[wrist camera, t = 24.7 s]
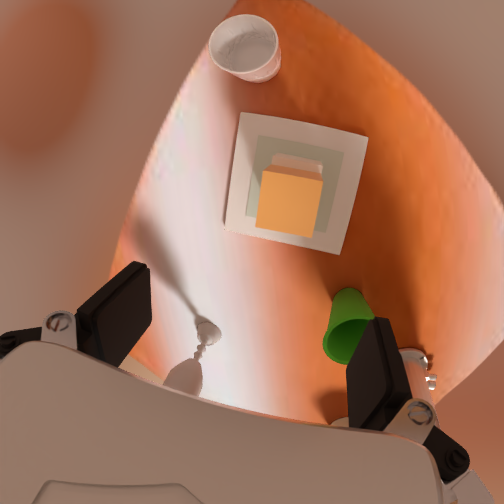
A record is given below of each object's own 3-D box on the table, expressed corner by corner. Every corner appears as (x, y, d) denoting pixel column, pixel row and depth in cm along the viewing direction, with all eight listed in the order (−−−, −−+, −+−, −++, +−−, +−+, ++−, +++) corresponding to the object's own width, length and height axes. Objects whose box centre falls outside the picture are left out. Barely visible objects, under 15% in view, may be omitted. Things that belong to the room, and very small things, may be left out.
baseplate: (367, 137, 36) (368, 137, 35) (339, 252, 43) (339, 255, 42) (242, 112, 38) (240, 111, 37) (225, 228, 45) (223, 230, 44)
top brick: (320, 173, 32) (323, 181, 27) (311, 221, 35) (311, 238, 29) (270, 164, 33) (263, 170, 28) (263, 211, 36) (255, 227, 30)
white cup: (271, 95, 36) (259, 83, 27) (221, 75, 36) (197, 61, 27) (294, 50, 33) (290, 26, 24) (244, 32, 32) (226, 7, 23)
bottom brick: (320, 161, 37) (322, 166, 32) (309, 215, 41) (309, 228, 35) (277, 152, 38) (272, 155, 33) (268, 206, 41) (261, 218, 36)
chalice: (191, 314, 54) (150, 381, 37) (225, 320, 53) (193, 393, 36) (194, 343, 57) (159, 408, 40) (226, 349, 56) (198, 419, 39)
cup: (315, 315, 49) (314, 359, 39) (330, 271, 45) (335, 310, 35) (362, 325, 48) (370, 369, 38) (381, 282, 44) (396, 322, 34)
